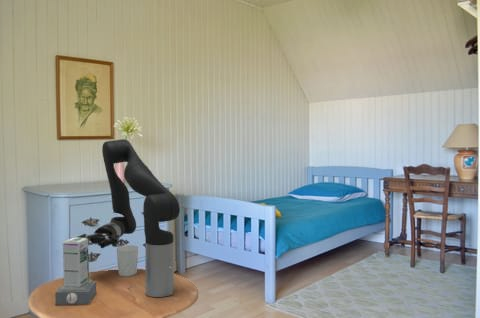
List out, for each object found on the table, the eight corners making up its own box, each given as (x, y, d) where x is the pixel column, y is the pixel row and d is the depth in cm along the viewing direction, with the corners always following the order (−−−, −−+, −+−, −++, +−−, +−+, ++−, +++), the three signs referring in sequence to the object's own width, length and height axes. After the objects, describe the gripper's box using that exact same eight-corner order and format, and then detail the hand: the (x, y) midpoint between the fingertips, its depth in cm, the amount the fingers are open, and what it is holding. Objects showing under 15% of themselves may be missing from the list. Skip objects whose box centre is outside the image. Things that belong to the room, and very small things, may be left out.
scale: (96, 292, 147) (96, 281, 147) (88, 305, 137) (88, 292, 137) (65, 293, 146) (65, 281, 146) (54, 305, 136) (54, 292, 136)
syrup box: (80, 287, 138) (79, 241, 138) (62, 286, 139) (62, 241, 139) (89, 281, 144) (88, 237, 143) (72, 280, 145) (72, 236, 144)
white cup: (117, 271, 171) (117, 245, 170) (138, 269, 173) (138, 244, 172) (116, 277, 163) (116, 251, 162) (138, 276, 165) (138, 249, 164)
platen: (92, 282, 146) (92, 279, 146) (86, 290, 138) (86, 288, 138) (67, 282, 145) (67, 280, 145) (59, 291, 137) (59, 288, 137)
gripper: (89, 223, 167) (69, 233, 151) (126, 225, 166) (109, 234, 150) (89, 243, 168) (69, 254, 152) (126, 244, 167) (109, 256, 151)
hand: (89, 244), depth 151 cm, fingers open, 8 cm apart
